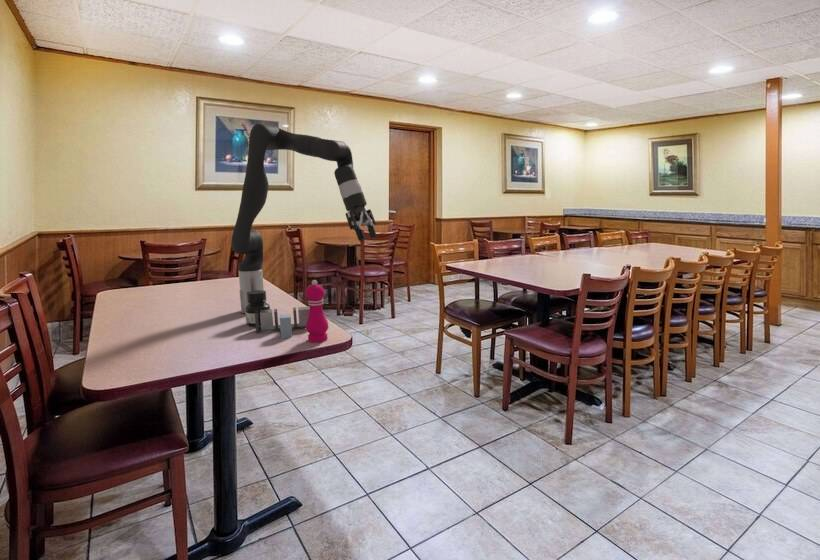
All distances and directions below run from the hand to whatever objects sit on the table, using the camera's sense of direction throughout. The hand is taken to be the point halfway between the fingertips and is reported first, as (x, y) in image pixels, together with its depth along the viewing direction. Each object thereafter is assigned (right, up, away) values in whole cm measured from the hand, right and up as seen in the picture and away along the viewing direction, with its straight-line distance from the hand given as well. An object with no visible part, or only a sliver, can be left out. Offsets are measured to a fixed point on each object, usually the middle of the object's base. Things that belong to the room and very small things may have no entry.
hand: (368, 239), depth 172 cm
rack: (-29, -32, +3) cm, 43 cm away
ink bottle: (-42, -31, +11) cm, 53 cm away
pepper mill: (-16, -34, -11) cm, 39 cm away
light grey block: (-27, -33, -6) cm, 43 cm away
